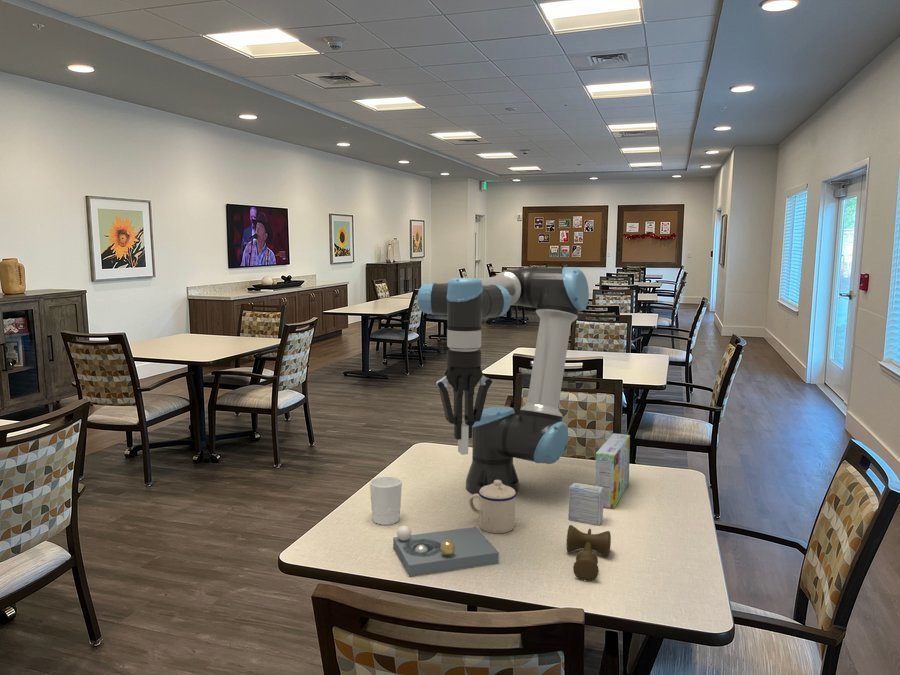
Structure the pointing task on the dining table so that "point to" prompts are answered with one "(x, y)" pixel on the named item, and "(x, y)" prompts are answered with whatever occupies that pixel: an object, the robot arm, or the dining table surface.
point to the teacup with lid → (495, 507)
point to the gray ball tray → (467, 554)
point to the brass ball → (447, 548)
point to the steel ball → (421, 548)
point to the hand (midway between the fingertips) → (463, 452)
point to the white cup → (386, 499)
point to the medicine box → (586, 503)
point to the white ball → (404, 533)
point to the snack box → (613, 468)
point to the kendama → (587, 551)
